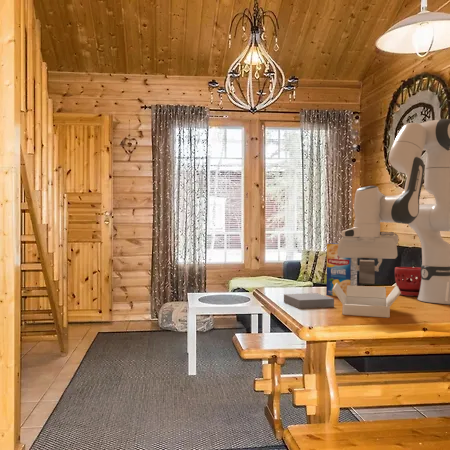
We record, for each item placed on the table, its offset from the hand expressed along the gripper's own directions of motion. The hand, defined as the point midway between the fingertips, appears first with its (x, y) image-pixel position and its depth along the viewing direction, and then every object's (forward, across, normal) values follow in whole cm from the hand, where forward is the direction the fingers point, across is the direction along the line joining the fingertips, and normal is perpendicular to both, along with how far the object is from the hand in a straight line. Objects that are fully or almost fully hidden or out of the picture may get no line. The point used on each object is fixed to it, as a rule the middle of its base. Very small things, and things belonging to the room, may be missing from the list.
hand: (366, 271), depth 166 cm
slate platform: (+14, +21, -6) cm, 26 cm away
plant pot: (+15, -18, -45) cm, 51 cm away
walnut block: (+4, 0, 0) cm, 4 cm away
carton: (+14, 0, -1) cm, 14 cm away
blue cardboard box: (+15, +10, -34) cm, 38 cm away
